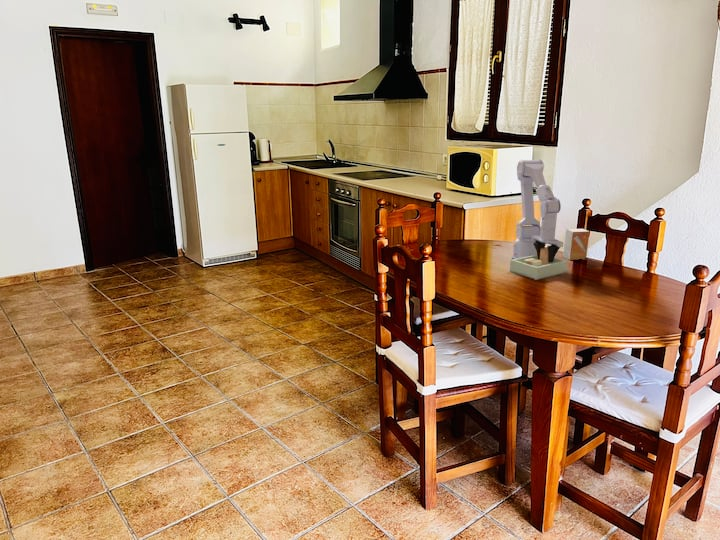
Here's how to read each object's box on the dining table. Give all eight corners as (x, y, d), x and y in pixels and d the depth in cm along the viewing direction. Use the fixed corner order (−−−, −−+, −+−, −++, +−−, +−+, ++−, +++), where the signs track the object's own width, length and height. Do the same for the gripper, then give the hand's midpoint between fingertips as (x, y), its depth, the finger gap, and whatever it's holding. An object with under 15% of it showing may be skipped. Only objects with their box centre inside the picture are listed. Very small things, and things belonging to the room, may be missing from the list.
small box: (569, 260, 242) (572, 231, 238) (562, 256, 248) (565, 228, 244) (586, 259, 243) (589, 231, 239) (579, 255, 249) (582, 228, 245)
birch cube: (522, 271, 224) (523, 259, 223) (531, 269, 226) (532, 258, 225) (532, 274, 220) (533, 262, 218) (540, 272, 222) (541, 260, 221)
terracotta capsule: (536, 264, 227) (538, 248, 225) (543, 262, 230) (545, 246, 228) (546, 267, 223) (548, 250, 221) (553, 265, 226) (555, 249, 224)
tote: (509, 271, 226) (510, 259, 225) (539, 264, 235) (540, 253, 234) (536, 279, 215) (537, 267, 214) (566, 272, 224) (567, 261, 222)
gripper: (527, 226, 226) (525, 257, 230) (556, 232, 214) (552, 265, 218) (539, 224, 229) (536, 255, 233) (567, 230, 218) (564, 263, 221)
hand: (545, 260), depth 226 cm, fingers closed on terracotta capsule, 5 cm apart
